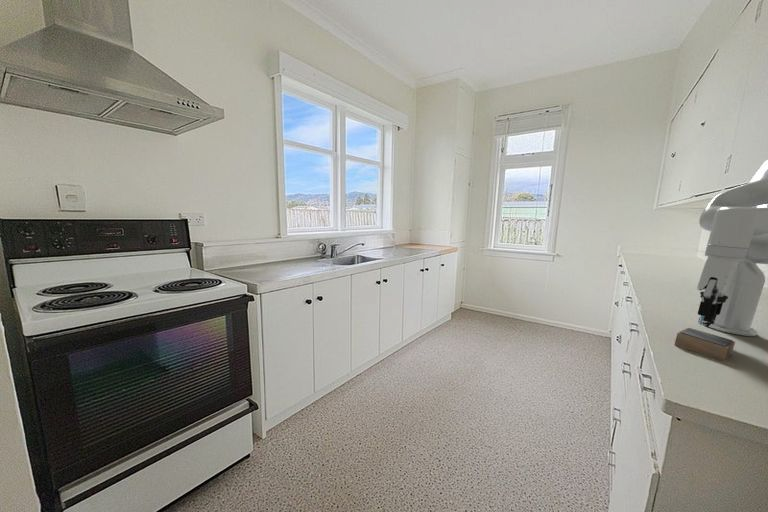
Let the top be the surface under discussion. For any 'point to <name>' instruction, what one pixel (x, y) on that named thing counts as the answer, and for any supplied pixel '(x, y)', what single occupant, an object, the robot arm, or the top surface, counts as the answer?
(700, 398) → the top surface
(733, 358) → the top surface
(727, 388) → the top surface
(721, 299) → the push button
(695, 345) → the stand
